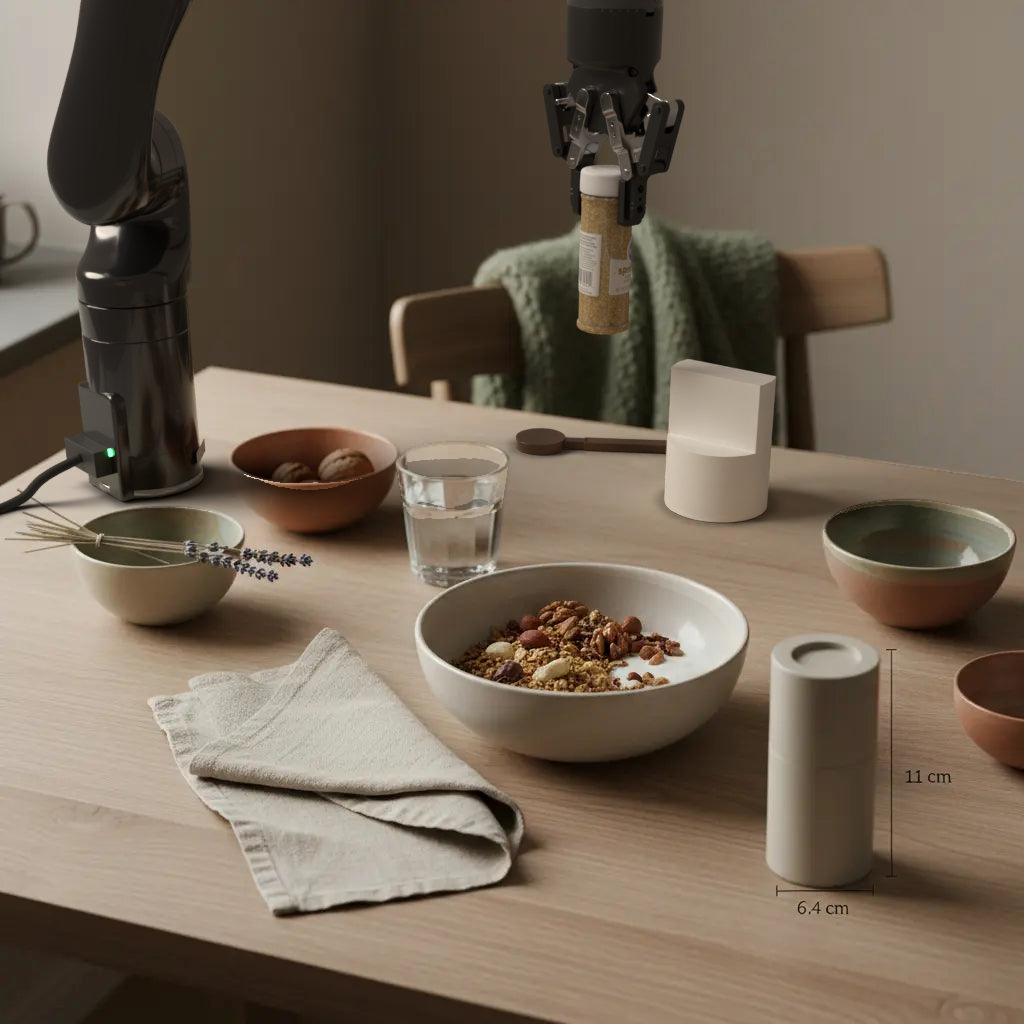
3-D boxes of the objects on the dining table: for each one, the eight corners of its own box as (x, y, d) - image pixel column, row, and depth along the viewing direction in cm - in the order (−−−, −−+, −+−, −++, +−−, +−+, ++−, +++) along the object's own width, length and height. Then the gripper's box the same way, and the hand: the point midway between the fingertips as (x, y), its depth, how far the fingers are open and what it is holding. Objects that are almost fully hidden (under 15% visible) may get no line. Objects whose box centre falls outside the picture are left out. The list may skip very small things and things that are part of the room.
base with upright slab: (645, 506, 132) (650, 375, 127) (695, 475, 139) (701, 350, 134) (737, 530, 127) (746, 395, 122) (784, 497, 134) (794, 368, 129)
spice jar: (634, 335, 126) (641, 173, 120) (580, 337, 125) (585, 173, 120) (624, 320, 130) (630, 162, 124) (571, 321, 129) (576, 163, 124)
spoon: (698, 442, 147) (698, 433, 146) (699, 460, 142) (700, 450, 142) (517, 436, 148) (517, 427, 148) (513, 454, 144) (513, 444, 143)
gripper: (517, -4, 120) (514, 211, 126) (649, 9, 110) (638, 242, 117) (585, -8, 124) (578, 199, 131) (717, 5, 114) (703, 228, 121)
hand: (606, 218), depth 124 cm, fingers closed on spice jar, 4 cm apart
